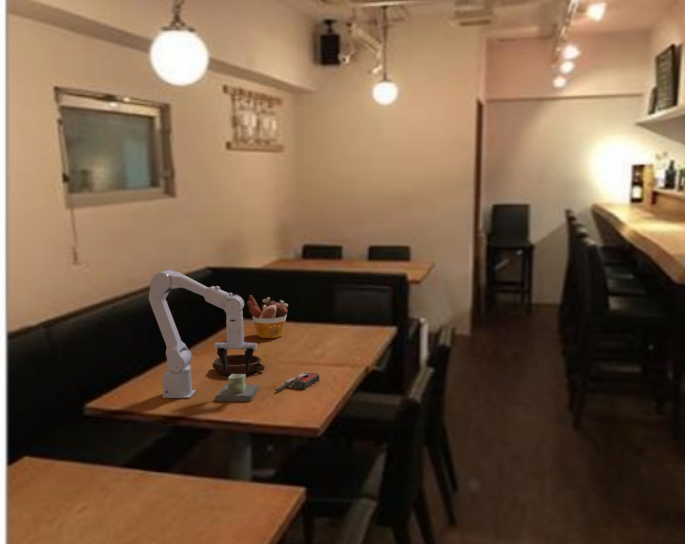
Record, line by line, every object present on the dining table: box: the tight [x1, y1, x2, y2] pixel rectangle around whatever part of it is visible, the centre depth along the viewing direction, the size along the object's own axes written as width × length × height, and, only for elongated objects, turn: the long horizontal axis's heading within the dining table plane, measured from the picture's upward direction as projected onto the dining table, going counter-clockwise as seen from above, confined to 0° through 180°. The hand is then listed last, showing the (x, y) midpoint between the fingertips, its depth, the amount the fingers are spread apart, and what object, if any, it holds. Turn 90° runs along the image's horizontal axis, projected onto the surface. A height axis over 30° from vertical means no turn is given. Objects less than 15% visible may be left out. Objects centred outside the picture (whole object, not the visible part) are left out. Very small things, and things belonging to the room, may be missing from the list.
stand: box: [215, 384, 259, 402], centre depth 232 cm, size 12×12×2 cm
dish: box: [211, 353, 266, 376], centre depth 261 cm, size 18×22×5 cm
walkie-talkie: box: [274, 371, 320, 392], centre depth 241 cm, size 9×4×20 cm
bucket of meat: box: [246, 294, 289, 339], centre depth 317 cm, size 20×16×20 cm
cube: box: [227, 374, 247, 392], centre depth 231 cm, size 5×5×5 cm
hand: (236, 369), depth 231 cm, fingers open, 7 cm apart
